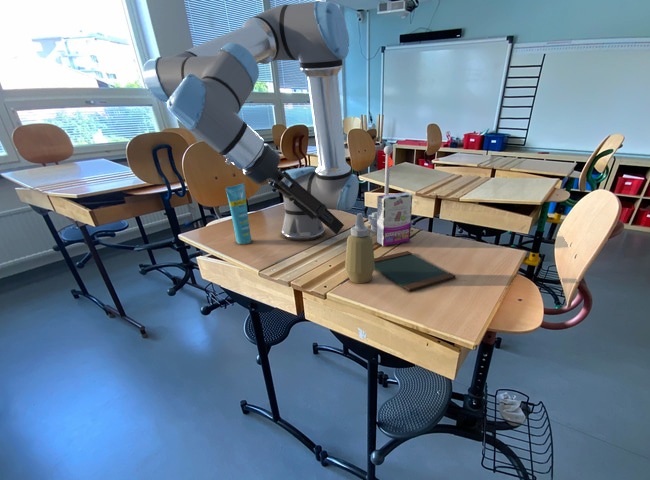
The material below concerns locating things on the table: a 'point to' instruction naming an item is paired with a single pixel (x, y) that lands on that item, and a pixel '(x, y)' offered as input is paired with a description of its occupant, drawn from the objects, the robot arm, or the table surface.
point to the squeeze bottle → (359, 253)
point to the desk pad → (410, 271)
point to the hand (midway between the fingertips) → (327, 221)
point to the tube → (239, 213)
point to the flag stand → (387, 167)
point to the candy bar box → (394, 218)
